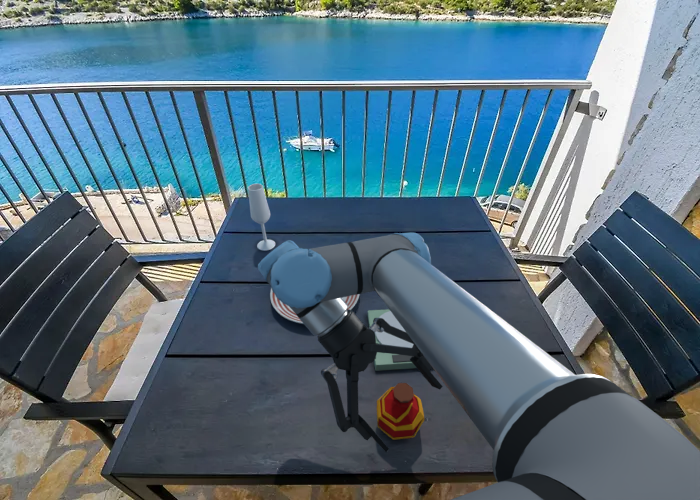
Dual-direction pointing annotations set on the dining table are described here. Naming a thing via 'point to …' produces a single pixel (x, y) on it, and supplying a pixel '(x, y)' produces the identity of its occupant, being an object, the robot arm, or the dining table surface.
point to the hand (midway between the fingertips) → (412, 416)
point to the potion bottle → (400, 412)
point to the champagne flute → (260, 213)
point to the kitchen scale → (389, 343)
